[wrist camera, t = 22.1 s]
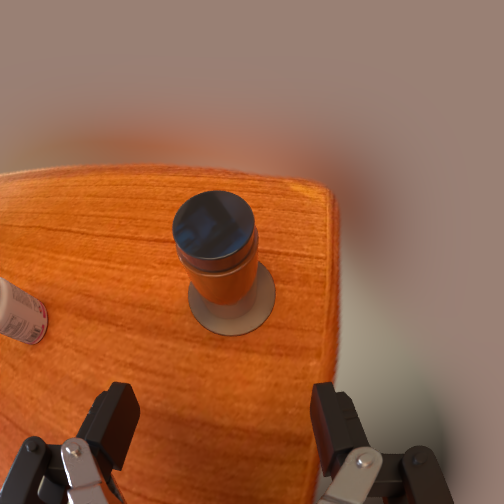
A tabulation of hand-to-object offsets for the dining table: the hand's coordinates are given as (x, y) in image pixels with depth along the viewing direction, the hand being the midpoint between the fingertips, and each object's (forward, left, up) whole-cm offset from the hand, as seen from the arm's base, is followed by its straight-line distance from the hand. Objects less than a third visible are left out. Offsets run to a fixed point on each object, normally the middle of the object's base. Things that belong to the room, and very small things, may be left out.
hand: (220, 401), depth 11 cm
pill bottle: (+20, +6, -9) cm, 23 cm away
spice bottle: (+4, -7, -9) cm, 12 cm away
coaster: (+4, -7, -9) cm, 12 cm away
